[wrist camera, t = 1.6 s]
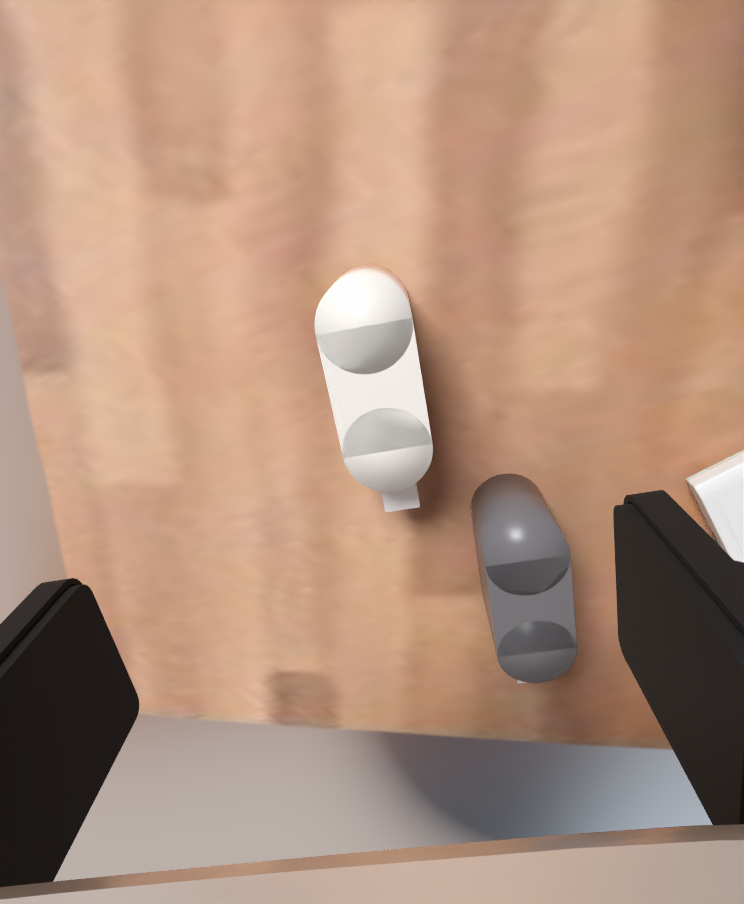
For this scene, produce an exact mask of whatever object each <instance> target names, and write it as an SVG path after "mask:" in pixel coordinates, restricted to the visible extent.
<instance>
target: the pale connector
mask: <svg viewBox="0 0 744 904" xmlns="http://www.w3.org/2000/svg"><path fill="white" fill-rule="evenodd" d="M315 333H316V338H317V343H318V347H319V352H320V356H321V361H322V365H323V370H324V374H325V378H326V383H327V387H328V392H329V396H330V401H331V405H332V410H333V414H334V419H335V423H336V428H337V432H338V437H339V441H340V446H341V450H342V454H343V459H344V462H345V465H346V467H347V469H348V471H349V472H350V474H351V475H352V476H353V477H354V478H355V479H356V480H357V481H358V482H359V483H361V484H362V485H364V486H366V487H368V488H370V489H373V490H377V491H381V494H382V498H383V503H384V508H385V512H391V511H398V510H405V509H411V508H418V507H420V502H419V495H418V489H417V483H416V482H417V481H419V480H420V479H421V478H422V477H423V476H424V474H425V473H426V472H427V470H428V468H429V466H430V463H431V461H432V456H433V444H432V438H431V431H430V425H429V419H428V413H427V406H426V400H425V394H424V388H423V381H422V375H421V369H420V363H419V356H418V350H417V344H416V338H415V331H414V325H413V319H412V313H411V308H410V302H409V297H408V293H407V290H406V288H405V286H404V284H403V283H402V281H401V280H400V279H399V277H398V276H397V275H396V274H394V273H393V272H392V271H390V270H389V269H387V268H385V267H382V266H379V265H374V264H364V265H359V266H355V267H353V268H351V269H349V270H347V271H346V272H345V273H343V274H342V275H341V276H340V277H339V278H338V279H337V281H336V282H335V283H334V284H333V285H332V286H331V288H330V289H329V290H328V291H327V292H326V293H325V295H324V296H323V298H322V299H321V301H320V303H319V305H318V308H317V311H316V315H315Z"/></svg>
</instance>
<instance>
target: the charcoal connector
mask: <svg viewBox="0 0 744 904" xmlns="http://www.w3.org/2000/svg"><path fill="white" fill-rule="evenodd" d="M471 516H472V523H473V530H474V537H475V544H476V552H477V559H478V566H479V573H480V580H481V587H482V594H483V598H484V602H485V606H486V611H487V615H488V619H489V623H490V628H491V632H492V636H493V640H494V645H495V649H496V653H497V657H498V661H499V664H500V666H501V668H502V669H503V670H504V671H505V672H506V673H507V674H508V675H509V676H511V677H512V678H514V679H517V682H518V684H519V683H527V682H528V683H540V682H546V681H549V680H552V679H555V678H557V677H559V676H560V675H562V674H563V673H565V672H566V671H567V670H568V669H569V668H570V667H571V665H572V664H573V662H574V660H575V658H576V654H577V642H576V627H575V613H574V599H573V584H572V570H571V556H570V549H569V546H568V544H567V542H566V540H565V538H564V536H563V534H562V533H561V531H560V529H559V527H558V525H557V523H556V521H555V519H554V517H553V516H552V514H551V512H550V510H549V508H548V506H547V504H546V502H545V500H544V499H543V497H542V495H541V493H540V491H539V489H538V488H537V486H536V485H535V484H534V483H533V482H532V481H530V480H529V479H527V478H525V477H523V476H520V475H516V474H502V475H497V476H494V477H492V478H490V479H488V480H487V481H485V482H484V483H483V484H481V485H480V486H479V487H478V489H477V490H476V491H475V493H474V495H473V498H472V501H471Z"/></svg>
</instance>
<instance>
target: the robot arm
mask: <svg viewBox="0 0 744 904" xmlns="http://www.w3.org/2000/svg"><path fill="white" fill-rule="evenodd" d="M614 540H615V565H616V590H617V615H618V636H619V642H620V646H621V650H622V653H623V655H624V658H625V660H626V662H627V663H628V665H629V667H630V669H631V671H632V673H633V675H634V677H635V679H636V680H637V682H638V684H639V686H640V688H641V690H642V692H643V694H644V696H645V697H646V699H647V701H648V703H649V705H650V707H651V709H652V711H653V713H654V715H655V716H656V718H657V720H658V722H659V724H660V726H661V728H662V730H663V732H664V733H665V735H666V737H667V739H668V741H669V743H670V745H671V747H672V749H673V750H674V752H675V754H676V756H677V758H678V760H679V762H680V763H681V766H682V767H683V769H684V771H685V773H686V775H687V777H688V779H689V781H690V782H691V784H692V786H693V788H694V790H695V792H696V794H697V796H698V797H699V799H700V801H701V803H702V805H703V807H704V809H705V811H706V813H707V815H708V817H709V818H710V820H711V822H712V824H713V825H702V826H680V827H666V828H653V829H638V830H624V831H611V832H595V833H583V834H582V833H581V834H567V835H554V836H541V837H530V838H519V839H508V840H496V841H485V842H474V843H462V844H451V845H440V846H428V847H417V848H405V849H395V850H383V851H371V852H360V853H349V854H339V855H327V856H317V857H306V858H296V859H284V860H274V861H263V862H252V863H242V864H232V865H221V866H210V867H200V868H190V869H179V870H170V871H169V870H168V871H158V872H148V873H137V874H127V875H117V876H106V877H97V878H87V879H77V880H67V881H57V882H53V880H54V878H55V876H56V875H57V873H58V870H59V869H60V867H61V865H62V863H63V861H64V859H65V857H66V855H67V853H68V851H69V849H70V847H71V845H72V843H73V841H74V839H75V837H76V835H77V833H78V831H79V829H80V827H81V826H82V823H83V822H84V820H85V818H86V816H87V814H88V812H89V810H90V808H91V806H92V804H93V802H94V800H95V798H96V796H97V794H98V792H99V790H100V788H101V786H102V785H103V783H104V781H105V779H106V777H107V775H108V773H109V771H110V769H111V767H112V765H113V763H114V761H115V759H116V757H117V755H118V753H119V751H120V749H121V747H122V745H123V743H124V741H125V740H126V738H127V735H128V734H129V732H130V730H131V728H132V726H133V724H134V722H135V720H136V718H137V715H138V711H139V699H138V695H137V693H136V691H135V688H134V686H133V684H132V681H131V679H130V677H129V675H128V672H127V670H126V668H125V665H124V663H123V661H122V659H121V656H120V654H119V652H118V649H117V647H116V645H115V643H114V640H113V638H112V636H111V633H110V631H109V629H108V627H107V624H106V622H105V620H104V617H103V615H102V613H101V611H100V608H99V606H98V604H97V601H96V599H95V597H94V595H93V592H92V591H91V589H90V588H89V587H88V586H87V585H82V583H81V582H80V581H79V580H77V579H74V578H71V579H65V580H58V581H51V582H45V583H41V584H40V585H38V586H37V587H36V588H35V589H34V590H33V591H32V592H31V593H30V594H29V595H28V596H27V597H26V598H25V600H23V601H22V602H21V604H19V605H18V607H17V608H16V609H15V610H14V611H13V612H12V613H11V614H10V615H9V616H8V617H7V618H6V619H5V620H4V621H3V622H2V623H1V624H0V904H744V563H743V562H740V561H734V560H733V559H732V558H731V557H730V556H729V555H728V554H727V553H726V552H725V551H724V550H723V549H722V548H721V547H720V546H719V545H718V544H717V543H716V542H715V541H714V540H713V539H712V538H711V537H710V536H709V535H708V534H707V533H706V532H705V531H704V530H703V529H702V528H701V527H700V526H699V525H698V524H697V523H696V522H695V521H694V520H693V519H692V518H691V517H690V516H689V515H688V514H687V513H686V512H685V511H684V510H683V509H682V508H681V507H680V506H679V505H678V504H677V503H676V502H675V501H674V500H673V499H672V498H671V497H670V496H669V495H668V494H667V493H666V492H665V491H663V490H659V491H652V492H645V493H639V494H632V495H627V496H626V497H625V499H624V505H617V506H615V507H614Z"/></svg>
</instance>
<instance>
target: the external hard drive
mask: <svg viewBox="0 0 744 904" xmlns="http://www.w3.org/2000/svg"><path fill="white" fill-rule="evenodd" d="M686 481H687V483H688V485H689V487H690V489H691V491H692V493H693V495H694V497H695V499H696V501H697V503H698V505H699V507H700V509H701V511H702V513H703V515H704V517H705V519H706V521H707V523H708V525H709V527H710V529H711V530H712V532H713V533H714V535H715V538H716V540H717V542H718V544H719V545H720V547H721V548H722V549H723V550H724V551H725V552H726V553H727V554H728V555H729V556H730V557H731V558H732V559H733V560H734V561H740V562H743V563H744V450H742V451H740V452H738V453H736V454H734V455H732V456H730V457H728V458H726V459H724V460H722V461H721V462H719V463H717V464H715V465H713V466H711V467H709V468H706V469H704V470H702V471H700V472H698V473H696V474H694V475H692V476H690V477H688V478H687V479H686Z"/></svg>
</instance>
